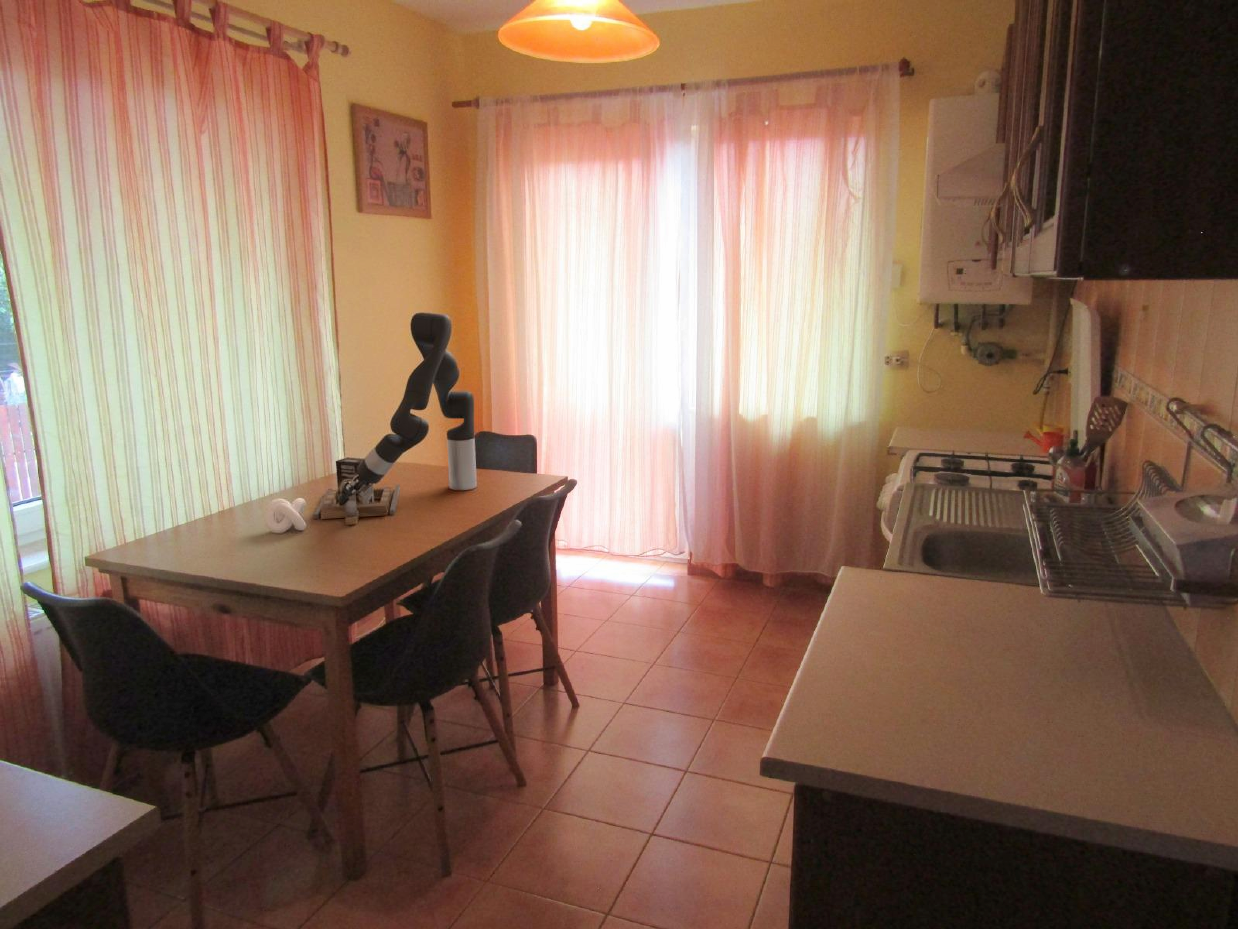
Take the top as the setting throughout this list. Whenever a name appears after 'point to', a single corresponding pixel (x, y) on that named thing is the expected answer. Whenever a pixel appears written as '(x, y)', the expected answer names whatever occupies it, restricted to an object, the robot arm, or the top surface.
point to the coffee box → (346, 474)
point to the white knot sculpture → (284, 515)
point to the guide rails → (392, 508)
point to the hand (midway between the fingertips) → (344, 501)
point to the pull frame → (356, 506)
